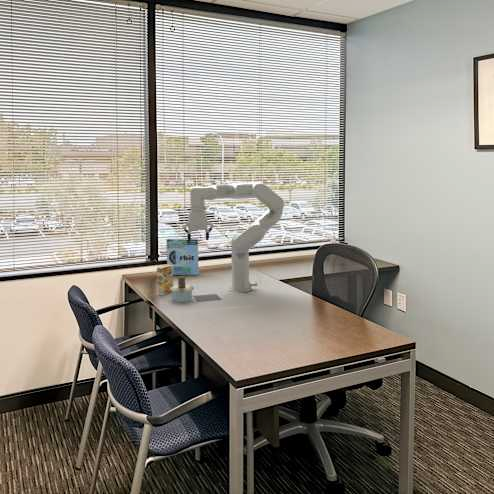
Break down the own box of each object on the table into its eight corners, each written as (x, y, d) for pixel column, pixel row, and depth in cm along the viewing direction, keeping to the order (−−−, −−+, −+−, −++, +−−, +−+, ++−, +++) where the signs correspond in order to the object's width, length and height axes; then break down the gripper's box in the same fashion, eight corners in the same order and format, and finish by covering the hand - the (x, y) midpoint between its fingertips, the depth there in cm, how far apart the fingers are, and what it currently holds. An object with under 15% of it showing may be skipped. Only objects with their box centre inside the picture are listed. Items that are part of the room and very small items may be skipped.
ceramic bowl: (189, 297, 282) (189, 286, 281) (193, 302, 273) (193, 290, 272) (170, 298, 279) (170, 287, 278) (174, 303, 270) (173, 292, 269)
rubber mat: (216, 295, 287) (216, 293, 287) (222, 300, 274) (222, 299, 274) (192, 296, 283) (192, 295, 283) (197, 303, 271) (197, 301, 271)
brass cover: (191, 285, 282) (190, 274, 281) (195, 290, 271) (195, 278, 270) (168, 287, 279) (168, 275, 278) (172, 292, 268) (171, 280, 267)
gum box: (167, 275, 338) (166, 239, 335) (169, 273, 343) (167, 238, 340) (197, 275, 337) (196, 239, 333) (198, 273, 342) (198, 238, 338)
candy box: (163, 296, 285) (162, 268, 283) (157, 295, 288) (156, 267, 285) (173, 292, 293) (172, 265, 291) (167, 291, 295) (166, 264, 293)
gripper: (211, 208, 295) (212, 238, 298) (180, 209, 290) (181, 240, 293) (214, 209, 288) (215, 240, 291) (183, 210, 283) (184, 242, 286)
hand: (198, 240), depth 292 cm, fingers open, 9 cm apart
